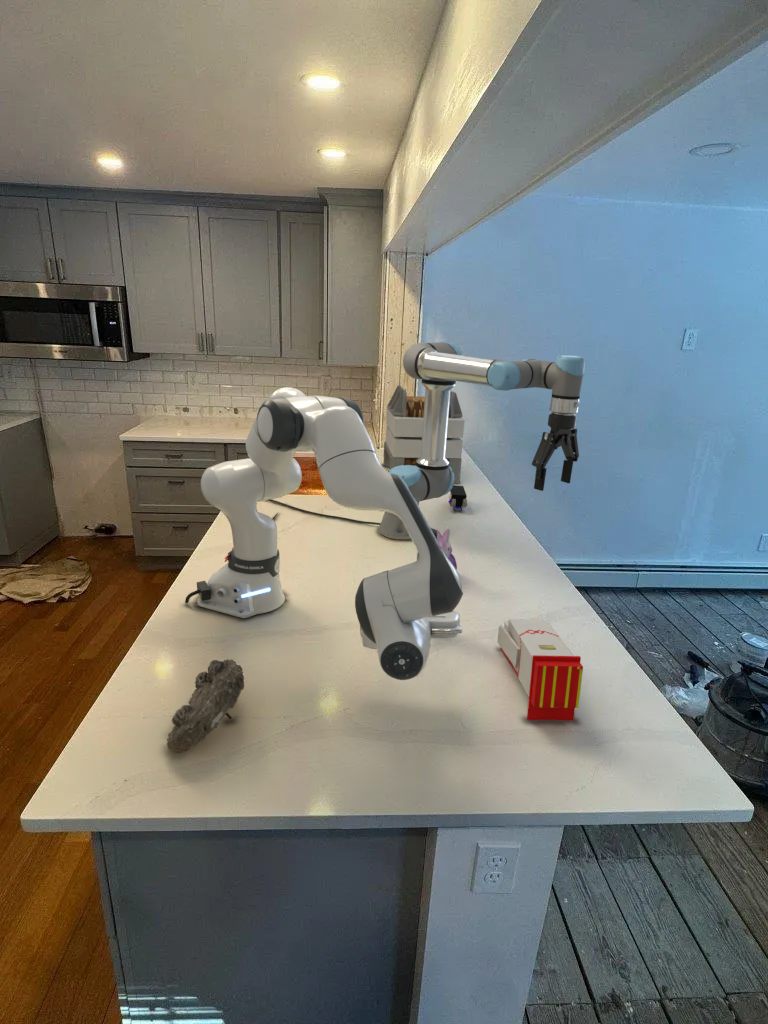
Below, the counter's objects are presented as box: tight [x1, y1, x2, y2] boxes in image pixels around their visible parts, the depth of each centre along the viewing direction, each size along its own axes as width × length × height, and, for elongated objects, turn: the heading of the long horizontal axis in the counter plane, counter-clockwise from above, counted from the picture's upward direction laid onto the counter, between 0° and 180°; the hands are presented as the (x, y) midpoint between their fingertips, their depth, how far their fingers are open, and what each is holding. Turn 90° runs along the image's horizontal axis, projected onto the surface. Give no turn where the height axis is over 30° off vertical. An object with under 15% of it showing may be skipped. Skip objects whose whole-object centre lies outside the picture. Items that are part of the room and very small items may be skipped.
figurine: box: [436, 528, 458, 571], centre depth 166 cm, size 9×10×15 cm
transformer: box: [383, 384, 465, 484], centre depth 268 cm, size 34×33×41 cm
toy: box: [497, 618, 584, 722], centre depth 122 cm, size 12×13×30 cm
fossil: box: [166, 658, 245, 754], centre depth 106 cm, size 22×10×15 cm
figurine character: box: [448, 484, 468, 512], centre depth 228 cm, size 7×8×15 cm
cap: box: [430, 527, 438, 539], centre depth 135 cm, size 4×4×2 cm
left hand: (411, 612), depth 121 cm, fingers open, 8 cm apart
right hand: (552, 485), depth 166 cm, fingers open, 13 cm apart
